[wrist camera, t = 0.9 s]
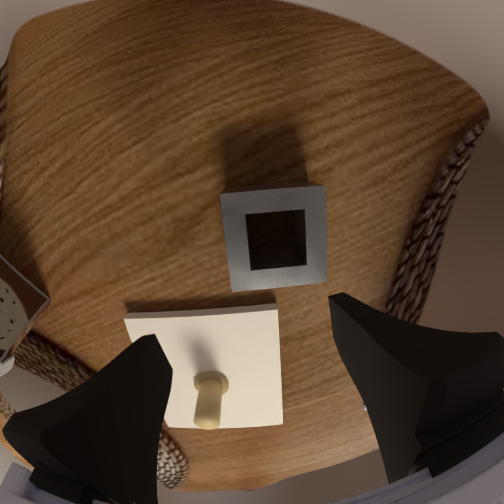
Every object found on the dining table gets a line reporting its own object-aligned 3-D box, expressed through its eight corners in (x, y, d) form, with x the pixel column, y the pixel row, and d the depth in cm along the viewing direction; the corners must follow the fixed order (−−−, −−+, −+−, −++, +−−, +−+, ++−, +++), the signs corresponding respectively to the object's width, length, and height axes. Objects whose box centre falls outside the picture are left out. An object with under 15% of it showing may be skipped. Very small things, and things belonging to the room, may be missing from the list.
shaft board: (276, 303, 21) (285, 346, 16) (281, 417, 25) (287, 458, 20) (128, 312, 21) (101, 352, 16) (170, 420, 25) (161, 459, 20)
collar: (308, 180, 18) (325, 185, 14) (312, 259, 20) (326, 282, 16) (225, 187, 18) (219, 194, 14) (234, 267, 20) (231, 291, 16)
